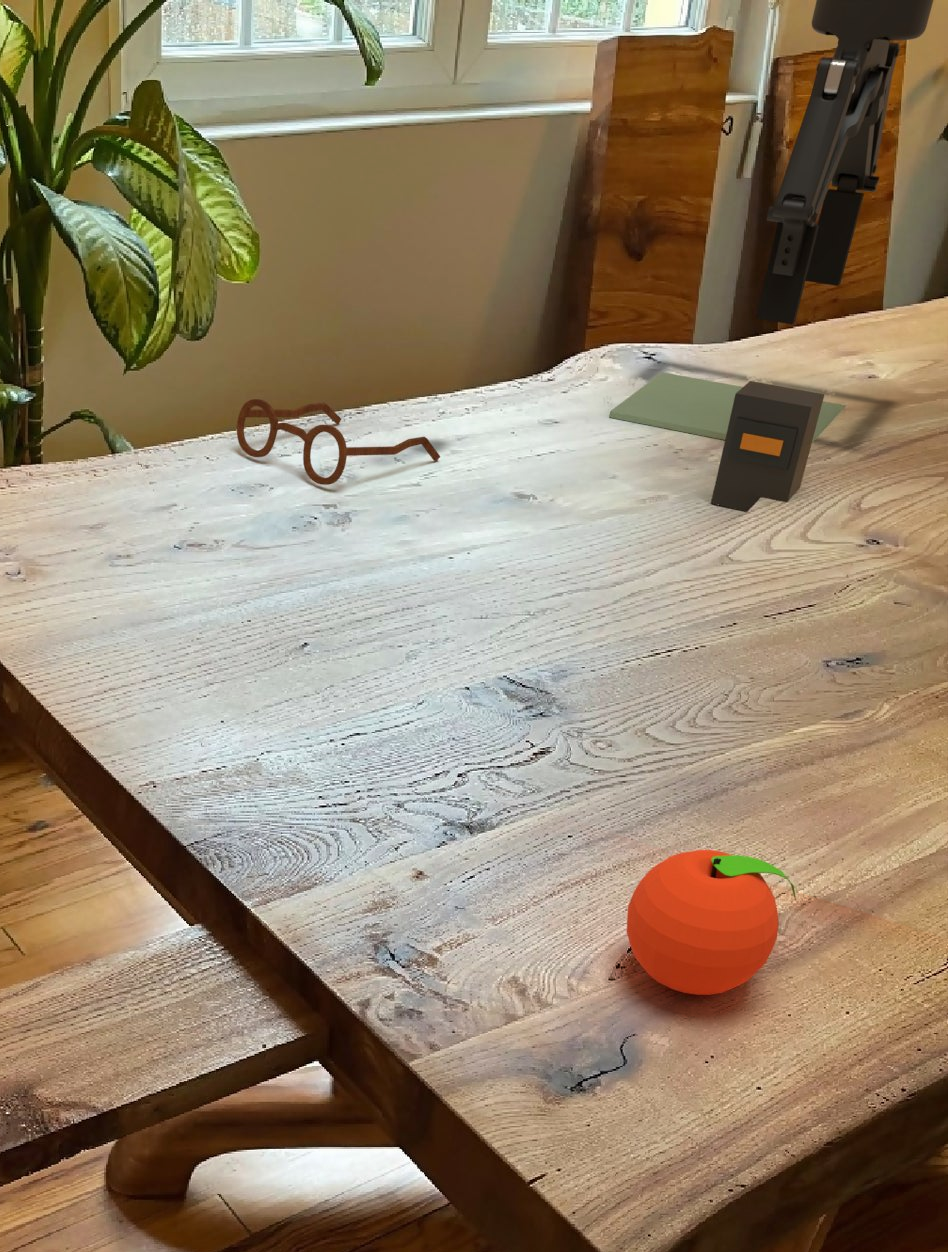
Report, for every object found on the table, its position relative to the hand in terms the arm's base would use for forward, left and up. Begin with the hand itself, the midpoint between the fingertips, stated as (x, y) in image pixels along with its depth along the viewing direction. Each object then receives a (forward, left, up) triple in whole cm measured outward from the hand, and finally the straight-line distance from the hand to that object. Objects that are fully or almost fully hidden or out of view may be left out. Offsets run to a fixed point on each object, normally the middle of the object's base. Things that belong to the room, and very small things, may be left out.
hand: (799, 301), depth 113 cm
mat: (+7, -22, -16) cm, 28 cm away
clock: (0, 0, -16) cm, 16 cm away
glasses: (+34, +10, -16) cm, 39 cm away
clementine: (-16, +65, -16) cm, 69 cm away
